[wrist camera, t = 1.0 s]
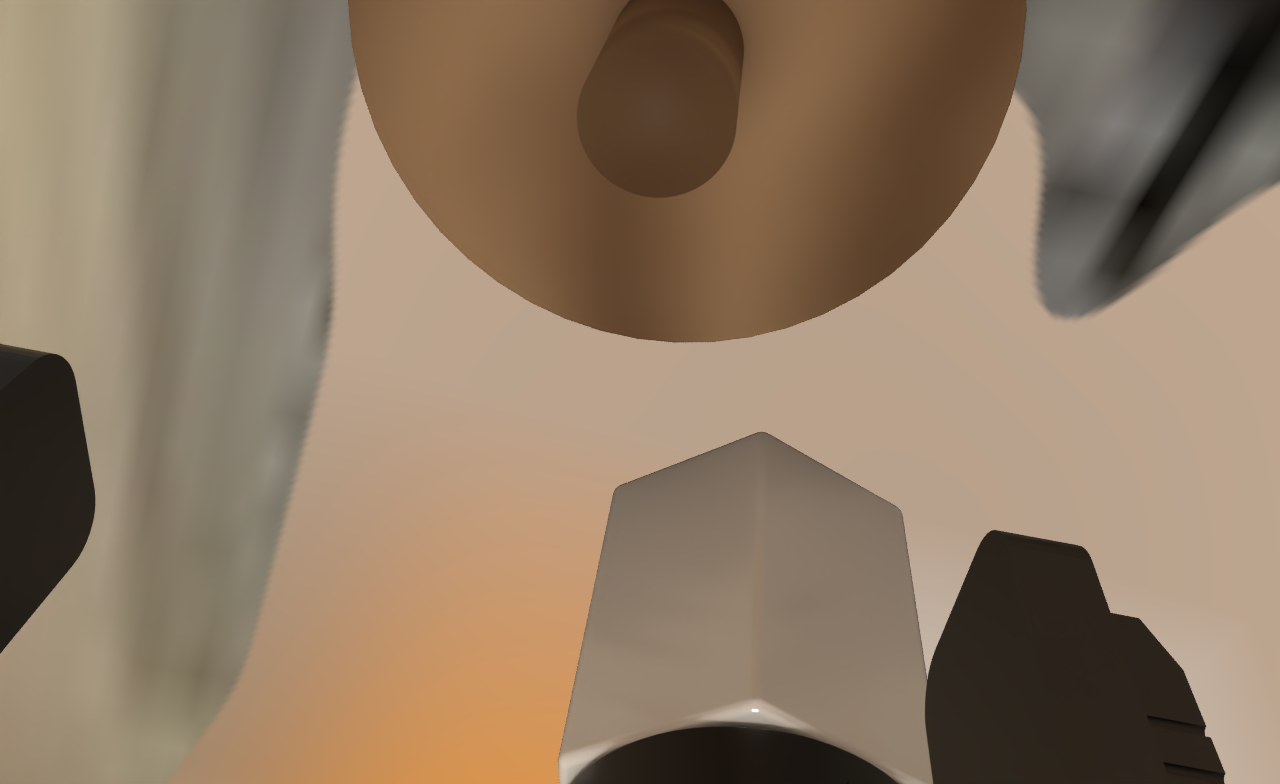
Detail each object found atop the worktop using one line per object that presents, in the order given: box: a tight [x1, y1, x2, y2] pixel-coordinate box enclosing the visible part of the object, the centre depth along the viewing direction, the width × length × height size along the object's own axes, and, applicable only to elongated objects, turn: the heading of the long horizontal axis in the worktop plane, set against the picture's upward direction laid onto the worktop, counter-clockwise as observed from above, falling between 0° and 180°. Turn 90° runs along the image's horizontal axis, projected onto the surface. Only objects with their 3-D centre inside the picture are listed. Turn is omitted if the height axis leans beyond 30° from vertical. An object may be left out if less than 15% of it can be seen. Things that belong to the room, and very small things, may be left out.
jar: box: [558, 432, 933, 784], centre depth 26 cm, size 9×8×12 cm
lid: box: [348, 0, 1026, 342], centre depth 21 cm, size 14×14×6 cm
